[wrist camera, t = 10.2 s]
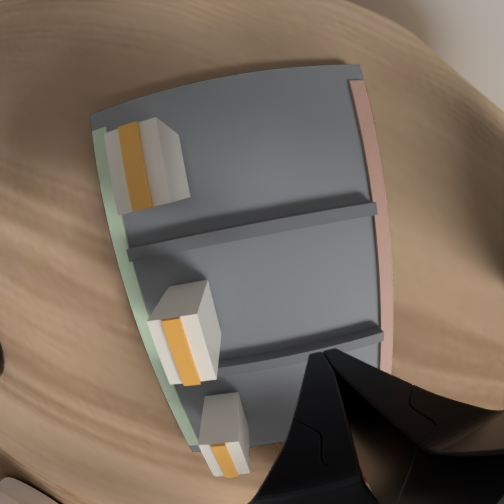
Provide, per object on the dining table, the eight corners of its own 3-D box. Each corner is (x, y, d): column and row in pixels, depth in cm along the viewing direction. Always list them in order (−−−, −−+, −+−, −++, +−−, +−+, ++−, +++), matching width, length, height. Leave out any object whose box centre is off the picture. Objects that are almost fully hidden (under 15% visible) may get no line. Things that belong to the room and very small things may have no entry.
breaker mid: (208, 279, 14) (196, 316, 10) (221, 333, 15) (216, 382, 11) (168, 286, 14) (145, 323, 10) (184, 339, 15) (169, 387, 11)
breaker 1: (178, 134, 13) (154, 115, 9) (190, 196, 14) (170, 202, 10) (138, 145, 13) (101, 132, 9) (150, 206, 14) (116, 216, 10)
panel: (352, 70, 14) (364, 59, 12) (382, 405, 18) (391, 421, 17) (97, 118, 14) (82, 112, 12) (193, 442, 18) (191, 459, 17)
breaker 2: (238, 391, 16) (238, 444, 12) (248, 425, 17) (250, 475, 13) (204, 396, 16) (197, 447, 12) (217, 429, 17) (214, 479, 13)
